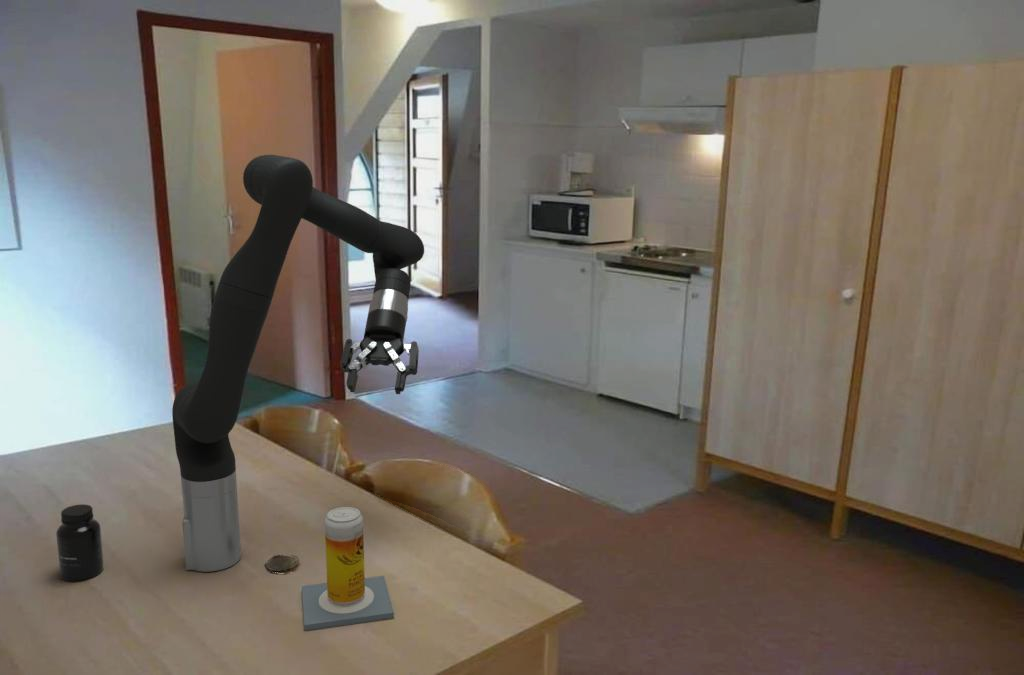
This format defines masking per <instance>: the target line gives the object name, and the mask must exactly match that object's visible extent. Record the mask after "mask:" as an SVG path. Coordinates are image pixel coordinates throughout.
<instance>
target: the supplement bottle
mask: <svg viewBox="0 0 1024 675" xmlns="http://www.w3.org/2000/svg"><path fill="white" fill-rule="evenodd" d="M93 511H94V510H93V507H92V506H91V505H90V504H75V505H74V504H73V505H70V506H68V507H65V508H64V509H63V510H62V511H61V512H60V515H61V520H60V521H61V524H60V526H58V527H57V530H56V534H55V535H56V545H57V557H58V567H59V574H60V577H61V578H62V579H63V580H64V581H68V582H81V581H86V580H90V579H92V578H94V577H96V576H98V575H100V574H101V573H102V571H103V570H104V554H103V543H102V542H103V541H102V529H101V528H102V527H101V524H100V522H99V521H98V520H96V519H94V512H93Z"/></svg>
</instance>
